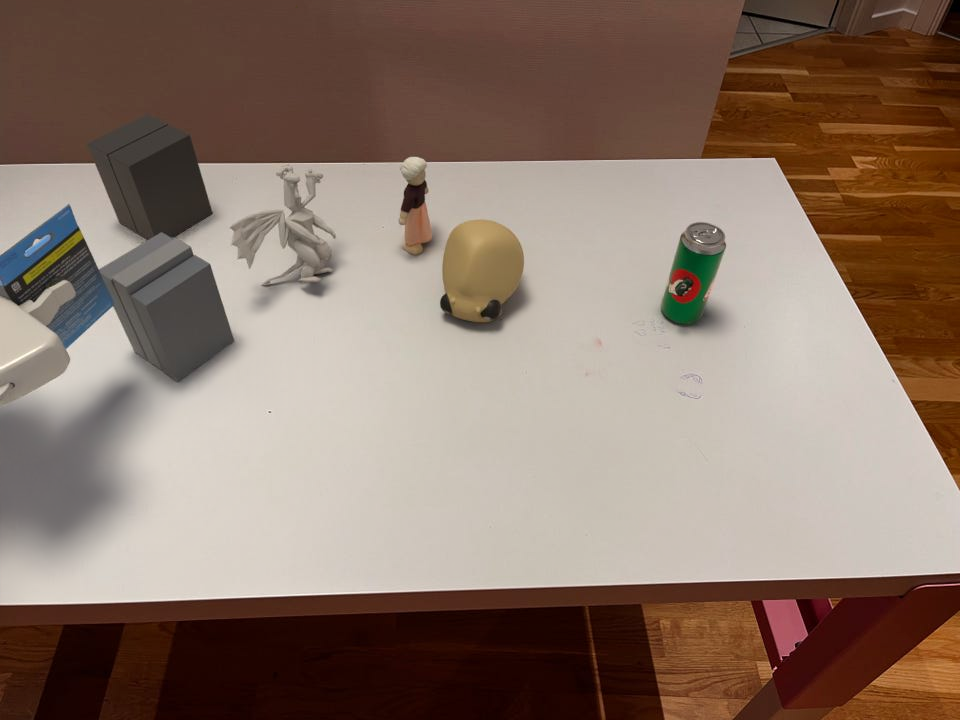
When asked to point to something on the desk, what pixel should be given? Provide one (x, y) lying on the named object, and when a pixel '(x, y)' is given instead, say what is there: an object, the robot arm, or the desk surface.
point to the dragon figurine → (288, 229)
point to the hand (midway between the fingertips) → (49, 271)
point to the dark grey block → (151, 177)
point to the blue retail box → (57, 274)
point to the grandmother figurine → (415, 206)
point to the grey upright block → (168, 305)
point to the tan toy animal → (480, 270)
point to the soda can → (693, 272)
